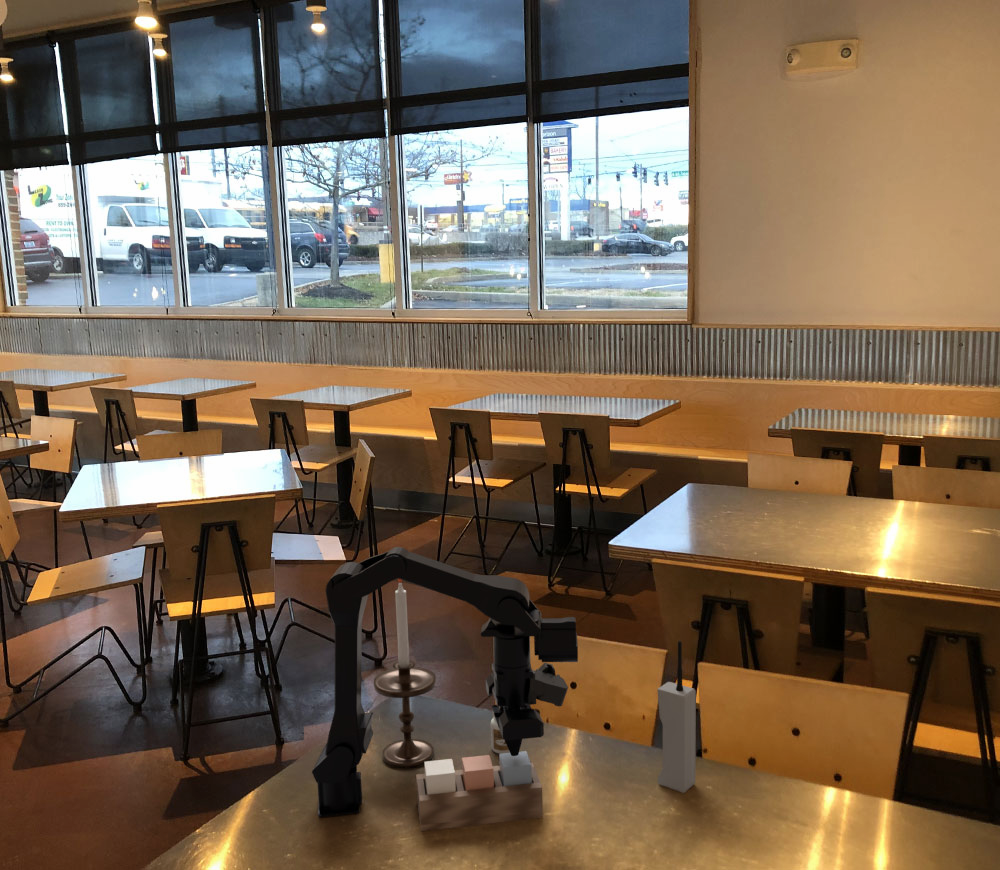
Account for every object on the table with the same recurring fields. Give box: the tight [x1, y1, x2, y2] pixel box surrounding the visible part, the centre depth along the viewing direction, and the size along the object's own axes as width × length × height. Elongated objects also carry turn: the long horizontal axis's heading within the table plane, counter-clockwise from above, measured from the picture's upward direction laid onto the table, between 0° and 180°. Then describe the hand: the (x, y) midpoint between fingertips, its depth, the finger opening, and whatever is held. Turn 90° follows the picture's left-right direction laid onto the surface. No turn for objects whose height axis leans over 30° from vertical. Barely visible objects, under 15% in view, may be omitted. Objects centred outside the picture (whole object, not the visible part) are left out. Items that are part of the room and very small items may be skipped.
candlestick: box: [373, 579, 437, 770], centre depth 164 cm, size 11×11×35 cm
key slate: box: [498, 750, 532, 787], centre depth 149 cm, size 4×4×4 cm
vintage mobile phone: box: [657, 640, 697, 794], centre depth 153 cm, size 4×5×25 cm
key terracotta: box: [461, 754, 494, 791], centre depth 148 cm, size 4×4×4 cm
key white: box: [423, 758, 456, 795], centre depth 147 cm, size 4×4×4 cm
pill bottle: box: [490, 712, 510, 755], centre depth 168 cm, size 4×4×8 cm
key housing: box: [415, 761, 544, 832], centre depth 148 cm, size 19×8×5 cm, turn 99°
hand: (514, 754), depth 148 cm, fingers closed
